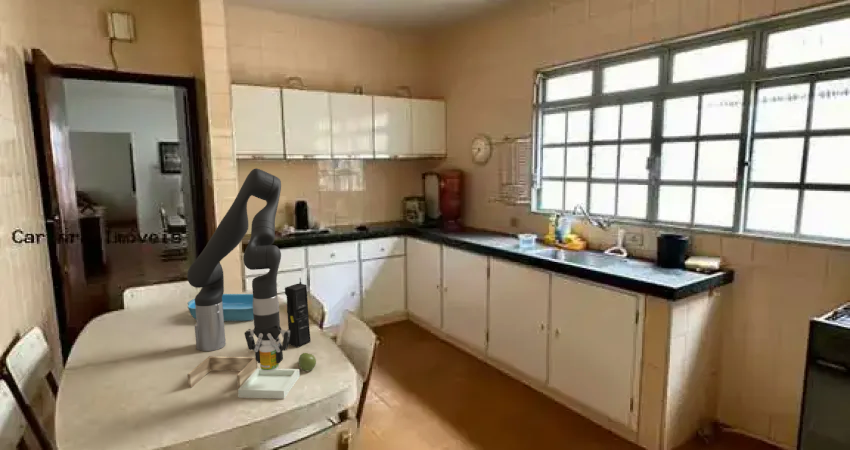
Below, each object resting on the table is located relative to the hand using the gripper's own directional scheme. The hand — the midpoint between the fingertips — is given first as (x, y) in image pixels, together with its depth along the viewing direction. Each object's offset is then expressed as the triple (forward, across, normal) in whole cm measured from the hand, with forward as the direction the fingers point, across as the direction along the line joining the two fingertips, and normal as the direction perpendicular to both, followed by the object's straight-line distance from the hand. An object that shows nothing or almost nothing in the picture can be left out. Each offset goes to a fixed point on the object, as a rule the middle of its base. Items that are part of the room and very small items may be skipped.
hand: (269, 362), depth 145 cm
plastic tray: (+8, 0, 0) cm, 8 cm away
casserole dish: (+8, -43, +64) cm, 77 cm away
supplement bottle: (+2, 0, 0) cm, 2 cm away
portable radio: (+8, -2, +33) cm, 34 cm away
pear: (+8, +7, +14) cm, 18 cm away
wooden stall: (+8, -17, +4) cm, 19 cm away
